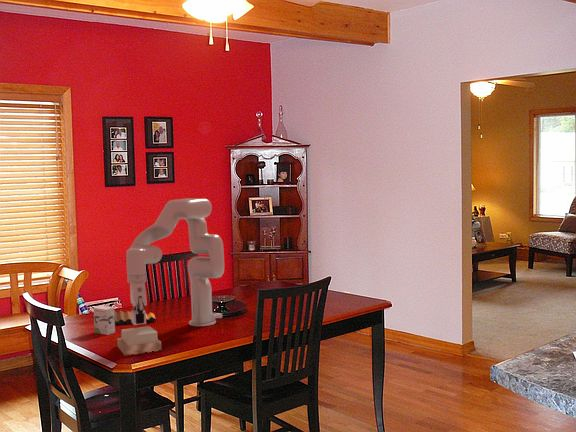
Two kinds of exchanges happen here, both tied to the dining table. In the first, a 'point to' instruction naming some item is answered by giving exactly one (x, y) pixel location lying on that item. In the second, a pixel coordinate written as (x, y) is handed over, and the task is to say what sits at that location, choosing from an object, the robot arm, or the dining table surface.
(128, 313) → the pan flute
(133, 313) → the cube
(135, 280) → the robot arm
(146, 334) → the tower top
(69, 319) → the dining table surface
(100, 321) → the ink box
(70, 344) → the dining table surface
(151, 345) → the tower base
